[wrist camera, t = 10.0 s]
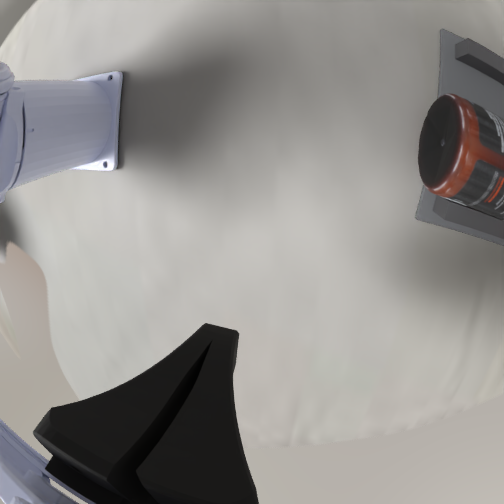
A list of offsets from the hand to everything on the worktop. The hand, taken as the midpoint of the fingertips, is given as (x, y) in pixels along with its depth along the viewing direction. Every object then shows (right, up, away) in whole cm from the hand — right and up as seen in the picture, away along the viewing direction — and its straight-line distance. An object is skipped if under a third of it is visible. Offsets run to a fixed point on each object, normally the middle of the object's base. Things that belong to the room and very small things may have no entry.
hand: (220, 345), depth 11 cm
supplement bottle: (+11, +10, +1) cm, 14 cm away
